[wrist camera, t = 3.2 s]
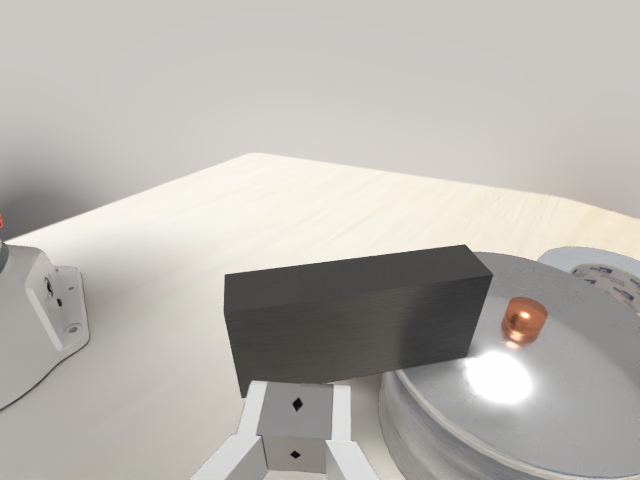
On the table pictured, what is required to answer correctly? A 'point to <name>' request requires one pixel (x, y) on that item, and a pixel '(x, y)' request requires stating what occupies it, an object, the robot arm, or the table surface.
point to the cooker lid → (459, 349)
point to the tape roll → (600, 271)
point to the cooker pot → (431, 442)
